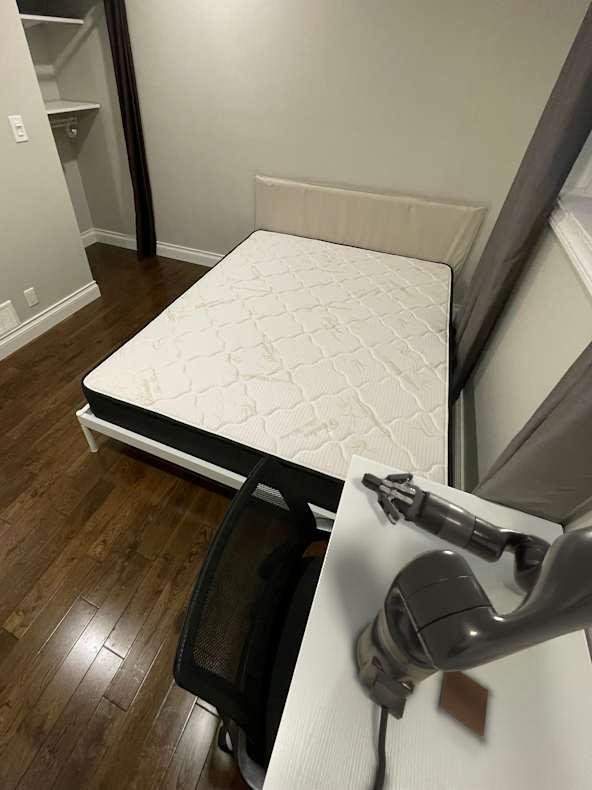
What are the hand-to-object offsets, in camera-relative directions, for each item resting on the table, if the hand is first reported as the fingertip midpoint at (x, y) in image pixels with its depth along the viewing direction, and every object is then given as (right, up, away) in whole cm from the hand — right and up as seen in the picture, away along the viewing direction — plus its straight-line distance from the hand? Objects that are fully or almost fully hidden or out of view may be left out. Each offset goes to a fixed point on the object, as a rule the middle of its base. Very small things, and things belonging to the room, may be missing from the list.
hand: (363, 477), depth 82 cm
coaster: (+9, -27, -24) cm, 37 cm away
